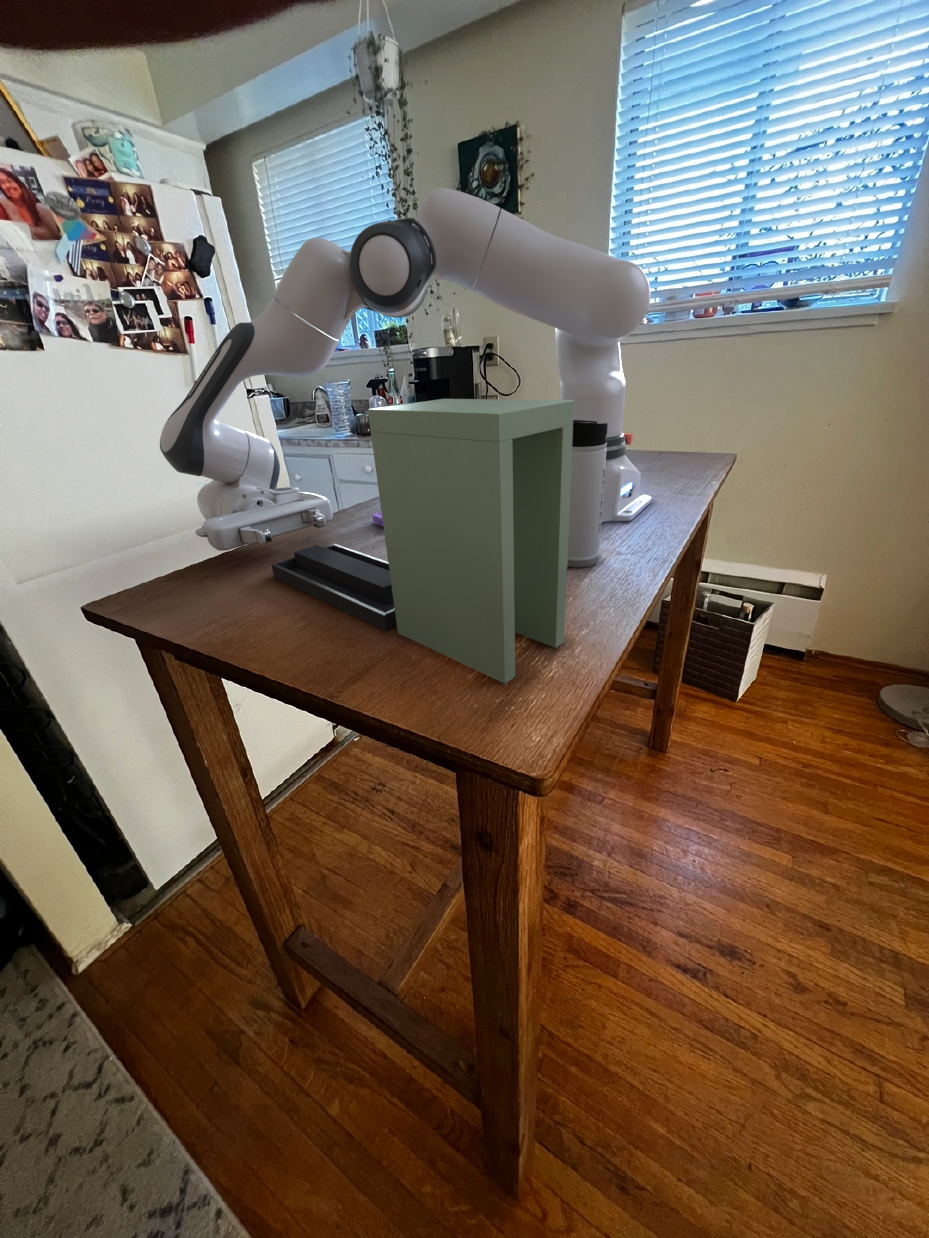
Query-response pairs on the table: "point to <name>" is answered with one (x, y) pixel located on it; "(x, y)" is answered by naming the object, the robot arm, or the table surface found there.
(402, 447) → the stool
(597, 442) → the travel mug
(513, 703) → the table surface
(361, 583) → the black pad
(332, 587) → the shallow dark gray tray
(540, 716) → the table surface
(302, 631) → the table surface
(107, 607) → the table surface
